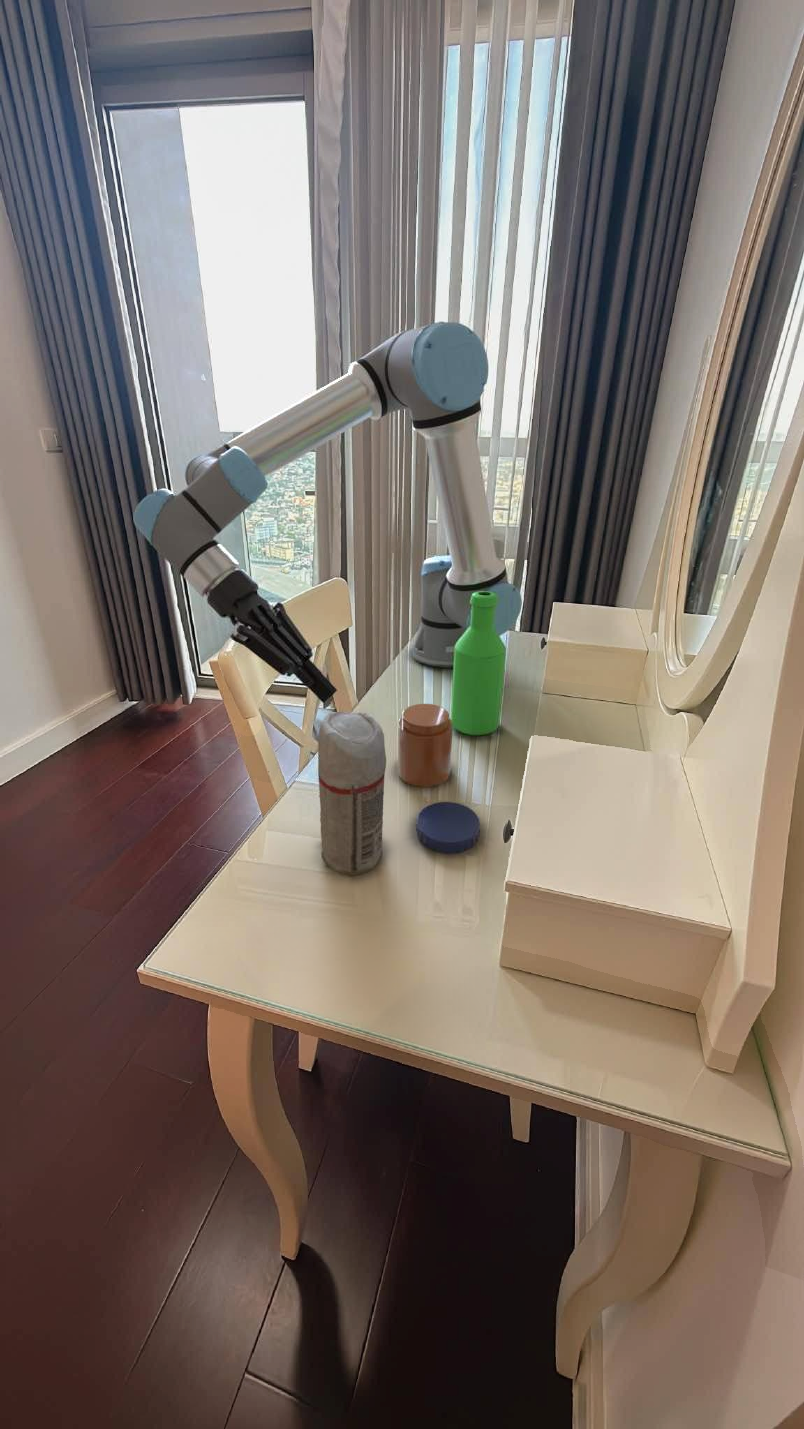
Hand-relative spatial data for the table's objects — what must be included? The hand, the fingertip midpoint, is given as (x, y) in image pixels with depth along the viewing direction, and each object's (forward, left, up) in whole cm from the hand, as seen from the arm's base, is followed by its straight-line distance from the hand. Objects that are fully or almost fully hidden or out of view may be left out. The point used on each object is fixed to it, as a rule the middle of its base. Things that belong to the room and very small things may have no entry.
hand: (330, 696), depth 90 cm
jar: (0, +16, -11) cm, 19 cm away
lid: (+13, +23, -10) cm, 28 cm away
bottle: (-17, +21, -11) cm, 29 cm away
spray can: (+21, +12, -12) cm, 27 cm away
